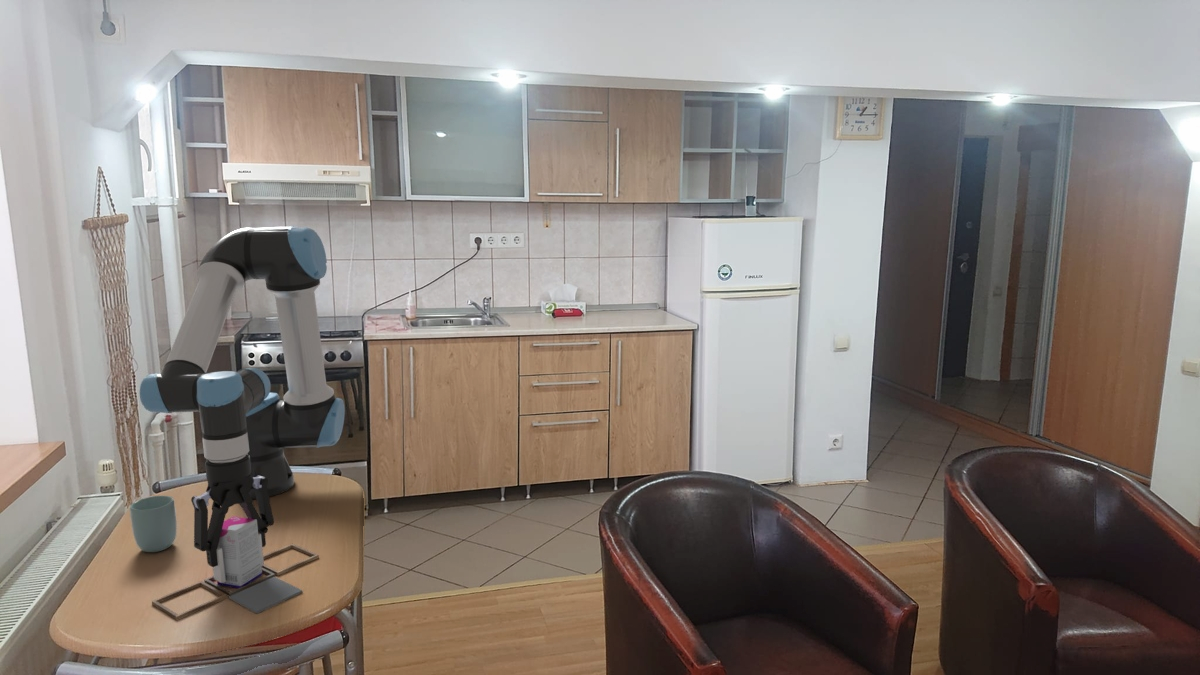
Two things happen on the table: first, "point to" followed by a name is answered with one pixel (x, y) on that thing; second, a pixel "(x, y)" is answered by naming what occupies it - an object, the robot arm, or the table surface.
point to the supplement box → (240, 551)
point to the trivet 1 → (178, 616)
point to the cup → (154, 523)
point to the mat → (265, 594)
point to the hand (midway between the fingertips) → (239, 571)
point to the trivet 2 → (314, 556)
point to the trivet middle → (229, 593)
